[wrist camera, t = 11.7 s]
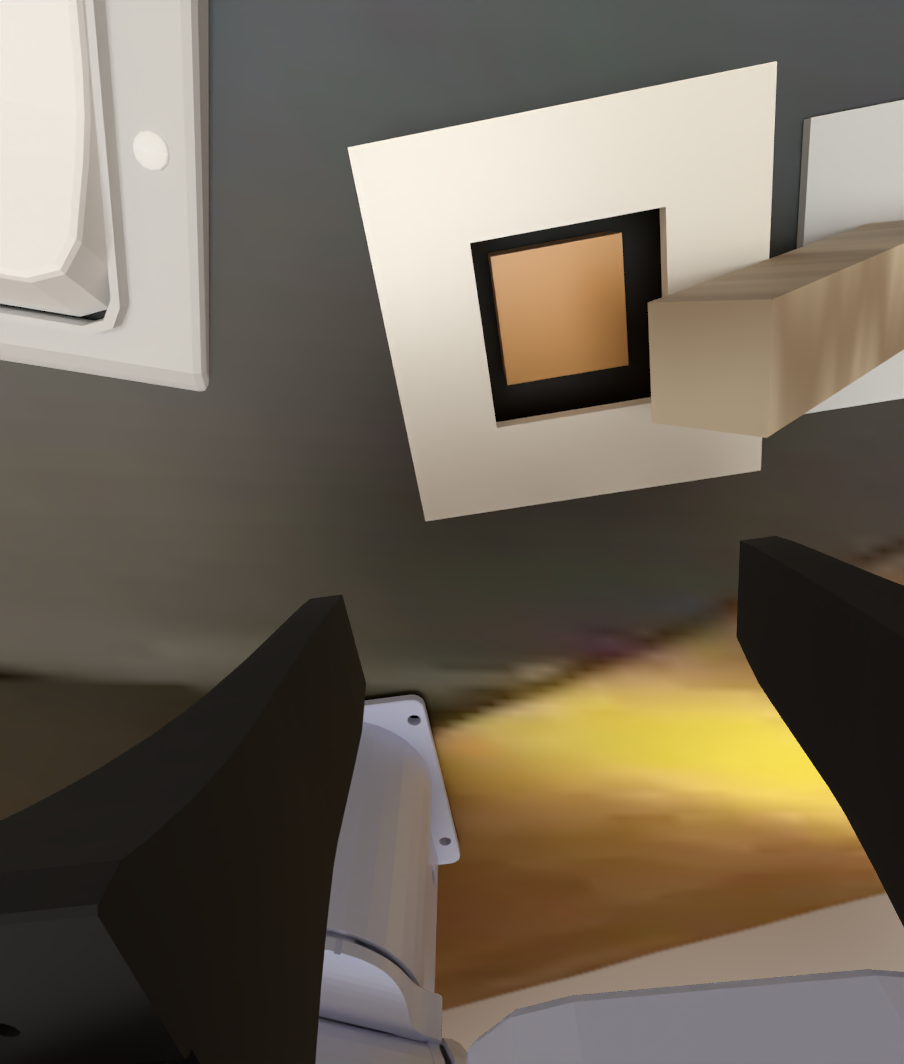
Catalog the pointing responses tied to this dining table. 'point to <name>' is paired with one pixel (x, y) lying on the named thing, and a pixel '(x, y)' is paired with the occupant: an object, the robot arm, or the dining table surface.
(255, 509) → the dining table surface
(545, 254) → the button
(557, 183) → the frame
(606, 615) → the dining table surface
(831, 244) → the brown wooden bar
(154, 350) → the light switch
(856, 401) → the mat
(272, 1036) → the robot arm
